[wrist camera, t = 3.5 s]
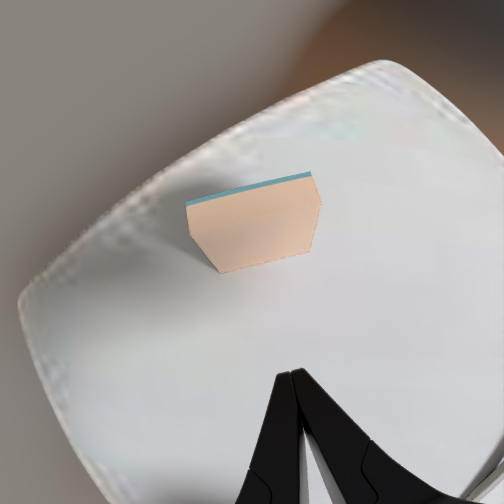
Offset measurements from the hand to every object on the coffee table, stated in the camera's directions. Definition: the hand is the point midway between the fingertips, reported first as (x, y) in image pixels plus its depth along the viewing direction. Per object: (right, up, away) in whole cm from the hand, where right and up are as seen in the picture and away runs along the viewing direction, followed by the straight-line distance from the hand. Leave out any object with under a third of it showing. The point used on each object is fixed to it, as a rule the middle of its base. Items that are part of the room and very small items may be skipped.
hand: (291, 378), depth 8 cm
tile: (0, +4, +14) cm, 15 cm away
